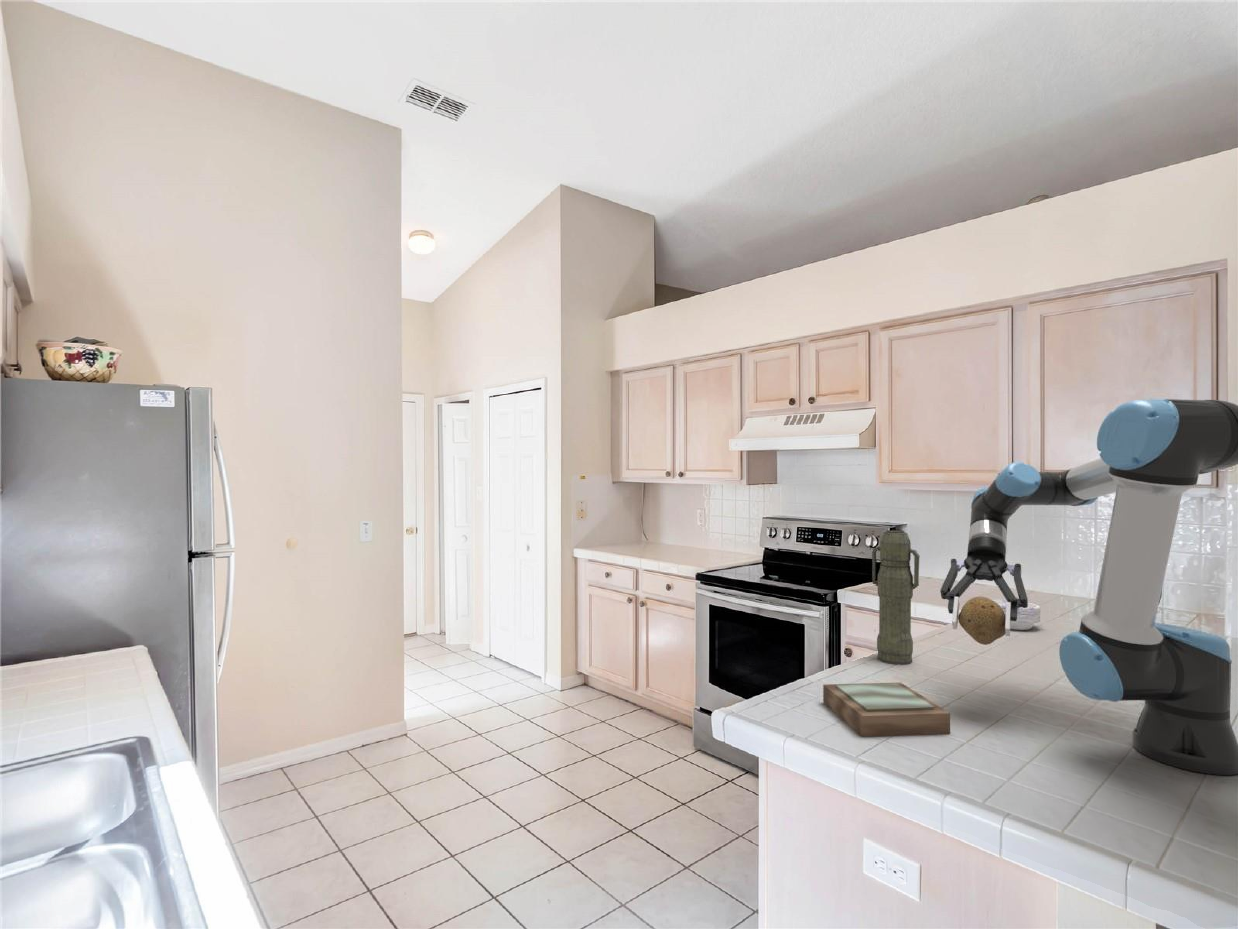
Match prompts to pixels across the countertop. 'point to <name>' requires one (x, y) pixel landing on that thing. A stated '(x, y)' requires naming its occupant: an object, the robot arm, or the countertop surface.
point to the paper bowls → (1022, 615)
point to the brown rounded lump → (982, 620)
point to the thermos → (895, 596)
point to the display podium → (885, 709)
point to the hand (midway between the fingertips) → (980, 628)
